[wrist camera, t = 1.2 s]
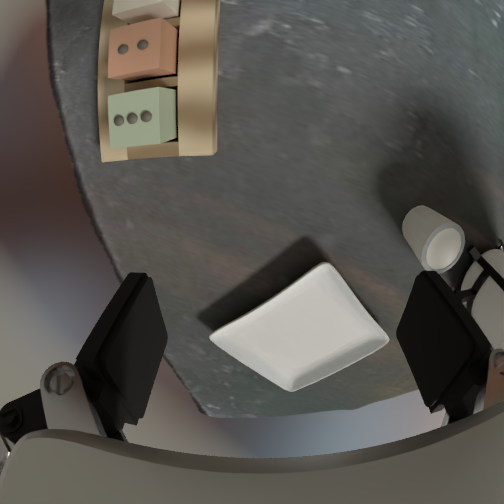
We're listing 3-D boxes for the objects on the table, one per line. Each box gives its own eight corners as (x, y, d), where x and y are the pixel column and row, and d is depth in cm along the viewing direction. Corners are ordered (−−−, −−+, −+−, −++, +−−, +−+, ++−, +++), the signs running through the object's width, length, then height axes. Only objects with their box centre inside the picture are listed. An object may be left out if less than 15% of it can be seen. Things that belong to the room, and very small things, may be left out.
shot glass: (388, 234, 33) (411, 262, 27) (416, 191, 30) (445, 212, 24) (420, 254, 34) (442, 282, 28) (445, 216, 31) (473, 238, 25)
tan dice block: (132, 38, 20) (109, 29, 15) (177, 30, 20) (161, 16, 15) (130, 80, 23) (106, 78, 18) (176, 73, 22) (158, 67, 18)
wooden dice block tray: (117, -8, 18) (106, -14, 15) (222, -28, 17) (218, -39, 15) (114, 157, 29) (102, 162, 26) (217, 150, 29) (212, 155, 26)
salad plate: (289, 380, 49) (290, 395, 46) (208, 323, 42) (204, 339, 39) (386, 328, 42) (392, 342, 39) (321, 245, 34) (326, 259, 31)
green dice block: (130, 96, 23) (106, 96, 19) (176, 89, 23) (158, 86, 19) (132, 141, 26) (109, 149, 21) (176, 137, 26) (159, 144, 21)
